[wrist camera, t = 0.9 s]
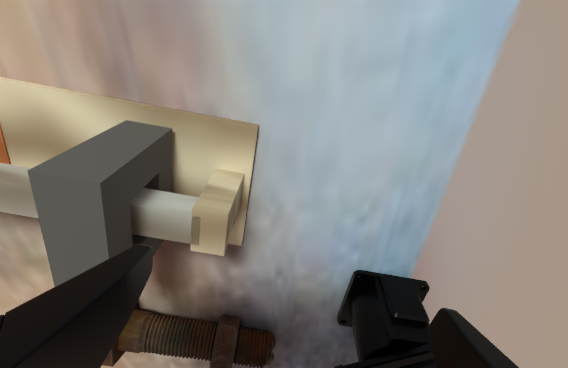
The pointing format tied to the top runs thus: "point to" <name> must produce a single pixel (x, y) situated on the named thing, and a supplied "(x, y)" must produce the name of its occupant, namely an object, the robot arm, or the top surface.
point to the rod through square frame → (147, 203)
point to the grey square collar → (98, 195)
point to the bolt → (194, 340)
